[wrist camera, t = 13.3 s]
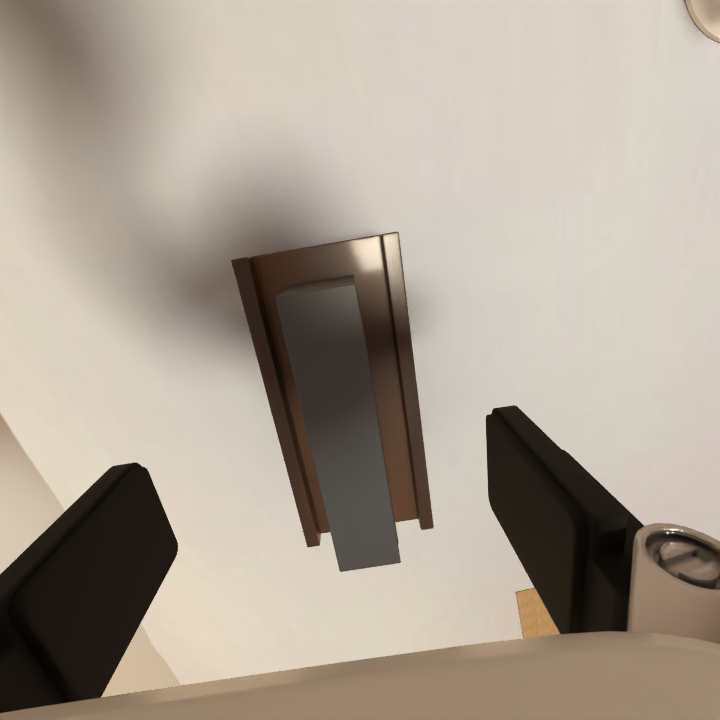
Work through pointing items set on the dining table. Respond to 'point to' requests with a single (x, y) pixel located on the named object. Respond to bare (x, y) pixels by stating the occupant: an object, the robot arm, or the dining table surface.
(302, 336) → the case
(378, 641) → the dining table surface
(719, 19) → the panda standee
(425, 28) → the dining table surface
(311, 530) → the shelf
